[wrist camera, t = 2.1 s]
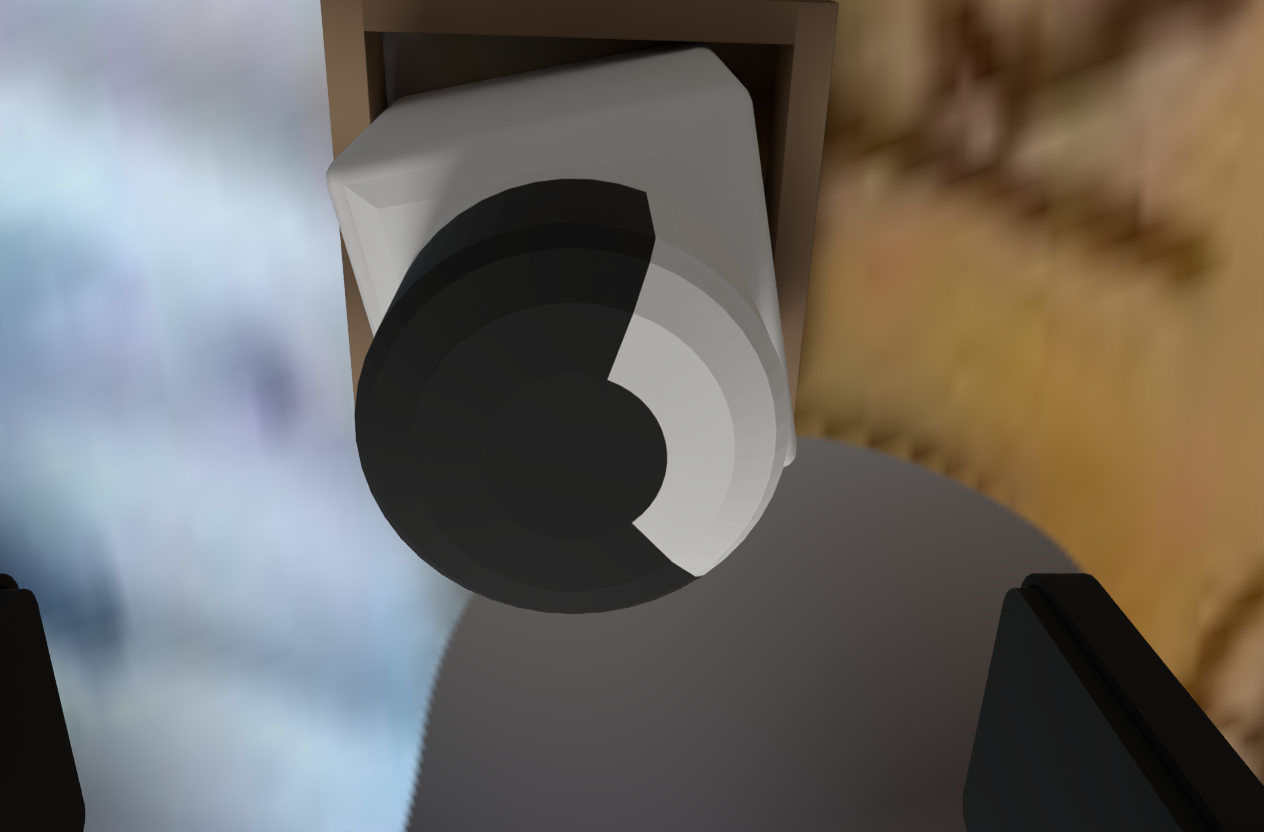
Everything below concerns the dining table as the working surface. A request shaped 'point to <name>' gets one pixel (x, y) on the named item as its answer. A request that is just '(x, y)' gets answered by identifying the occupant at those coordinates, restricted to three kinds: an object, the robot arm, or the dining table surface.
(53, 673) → the robot arm
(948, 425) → the dining table surface
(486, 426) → the medicine bottle
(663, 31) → the collar
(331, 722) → the dining table surface
